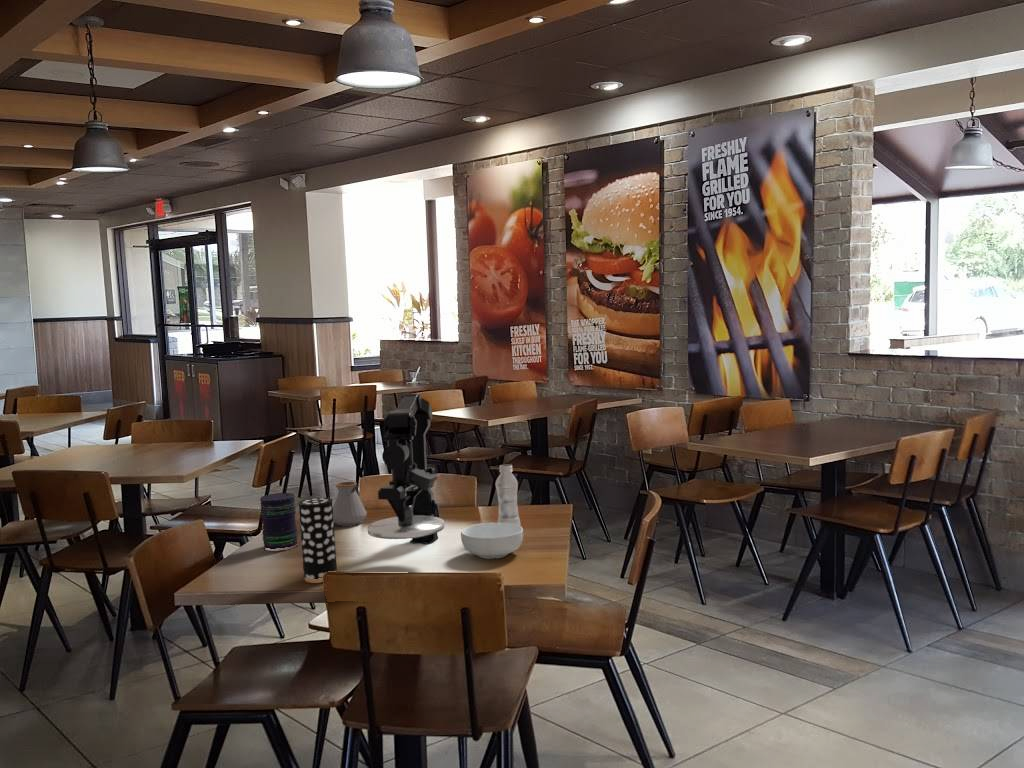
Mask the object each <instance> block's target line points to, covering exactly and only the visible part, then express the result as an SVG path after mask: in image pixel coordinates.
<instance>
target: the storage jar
mask: <svg viewBox="0 0 1024 768" xmlns="http://www.w3.org/2000/svg"><path fill="white" fill-rule="evenodd" d="M259 500H260V516H261V519H262V527H263V528H262V531H261V532H262V541H263V548H264V547H265V548H270V549H276V548H285V547H291V546H294V545H296V544H297V543H298V539H299V538H298V537H299V534H298V526H296V525H297V521H296V513H297V509H296V507H297V506H296V500H295V494H294V493H292V492H280V493H275V492H274V493H270V494H266V495H263V496H260V498H259Z"/></svg>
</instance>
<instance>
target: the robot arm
mask: <svg viewBox="0 0 1024 768" xmlns="http://www.w3.org/2000/svg"><path fill="white" fill-rule="evenodd" d="M432 420H433V408H432V406H431V403H430V401H428V400H426V399H424V398H422V396H421V393H404V394H402V395H401V401H400V403H399V404H398V406H397V408H396V409H394V410H391V411H389V412H387V414H386V417H384V419H383V428H382V438H381V439H382V442H388V445H387V446H386V447H385V448H384V449H383V451H382V457H381V458H382V461H383V462H384V464H385V465H386V466H387V467H388V471H391V480H389V483H388V484H389V485H385V486H383V487H381V488H379V490H378V491H377V499H378V500H386V501H388V504H389V505H390V507H391V508H392V509H393V511H394V513H395V515H396V517H398V519H399V520H400V521H401V522H403V521H404V519H405V505H406V504H412V505H413V515H424V516H434V517H438V518H441V517H440V509H439V505H438V503H437V501H436V499H434V498H435V497H434V491H432V489H433V487H434V483H435V481H437V480H438V477H437V474H436V469H435V468H434V467H430V466H429V467H428V463H427V439H426V435H427V432H428V431H429V428H430V427H431V421H432ZM431 488H432V489H431ZM437 539H439V535H438V532H437V533H434V534H431V535H427V536H422V537H416V538H411V539H410V540H409V543H410V544H411V543H412V544H432V543H433V542H435V541H436V540H437Z"/></svg>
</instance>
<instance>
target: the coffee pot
mask: <svg viewBox="0 0 1024 768" xmlns="http://www.w3.org/2000/svg"><path fill="white" fill-rule="evenodd" d="M335 487H336V489H337V490H338V493H337V495H336V498H335V501H334V503H333V505H332V506H333V520H334V524H336V525H337V524H338V525H342V526H341V527H353V526H357V525H356V524H358V525H360V524H361V523H362V522H363V521H364V520H365V519H366V517H367V514H368V513H367V510H366V509H365V506H364V504H363V503H362V499H360V497H359V494H358V493H357V492H358V489H359V487H360V488H362V486H361V485H359V484H357V482H356V481H344V482H338V483H336V484H335ZM338 525H337V526H338ZM352 525H353V526H352Z"/></svg>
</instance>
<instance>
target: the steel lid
mask: <svg viewBox="0 0 1024 768" xmlns="http://www.w3.org/2000/svg"><path fill="white" fill-rule="evenodd" d="M445 526H446V525H445V520H444V519H443V518H441V517H440V518H438V517H434V516H424V515H413V505H412V504H406V505H405V519H404V521H403V522H401V521H400V520H399V519H398V517H397V516H393V517H387V518H383V519H379V520H376V521H373V522H371V523H370V524H368V526H367V534H368V535H369V536H370V537H374V538H377V539H382V540H383V539H385V540H386V539H387V540H407V539H412V538H416V537H422V536H427V535H431V534H434V533H437V534H438V533H439V532H441V531H443V530H444V529H445Z"/></svg>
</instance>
